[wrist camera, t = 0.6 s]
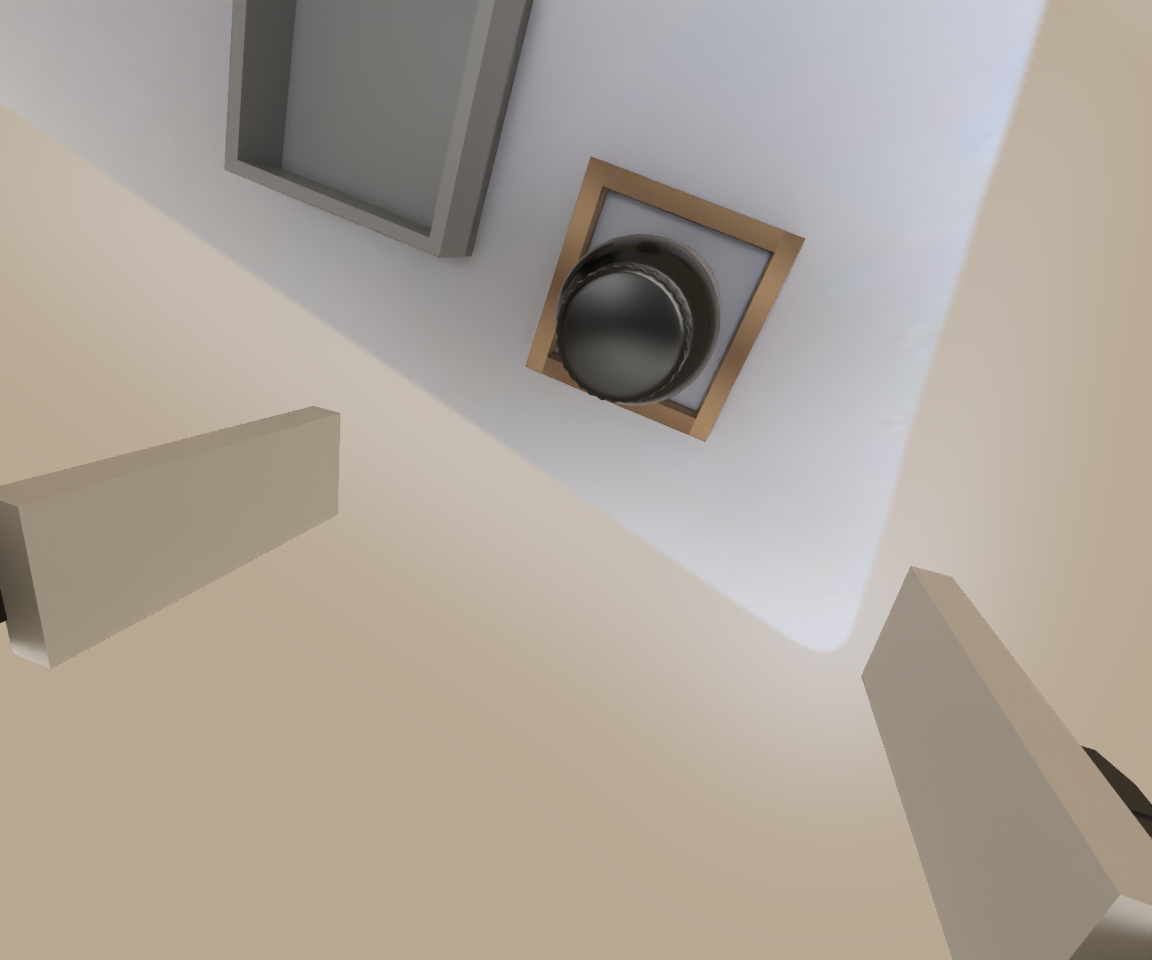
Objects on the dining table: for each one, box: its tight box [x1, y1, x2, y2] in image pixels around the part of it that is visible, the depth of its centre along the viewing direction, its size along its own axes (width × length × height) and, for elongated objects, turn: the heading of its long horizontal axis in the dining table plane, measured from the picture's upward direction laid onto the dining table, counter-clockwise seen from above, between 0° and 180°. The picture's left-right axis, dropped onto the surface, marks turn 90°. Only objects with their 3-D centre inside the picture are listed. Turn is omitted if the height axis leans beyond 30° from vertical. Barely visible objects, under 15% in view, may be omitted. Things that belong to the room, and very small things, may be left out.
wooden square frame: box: [526, 157, 805, 442], centre depth 30 cm, size 11×11×2 cm
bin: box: [225, 0, 533, 257], centre depth 28 cm, size 12×12×4 cm
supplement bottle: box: [555, 234, 720, 405], centre depth 25 cm, size 7×7×12 cm
